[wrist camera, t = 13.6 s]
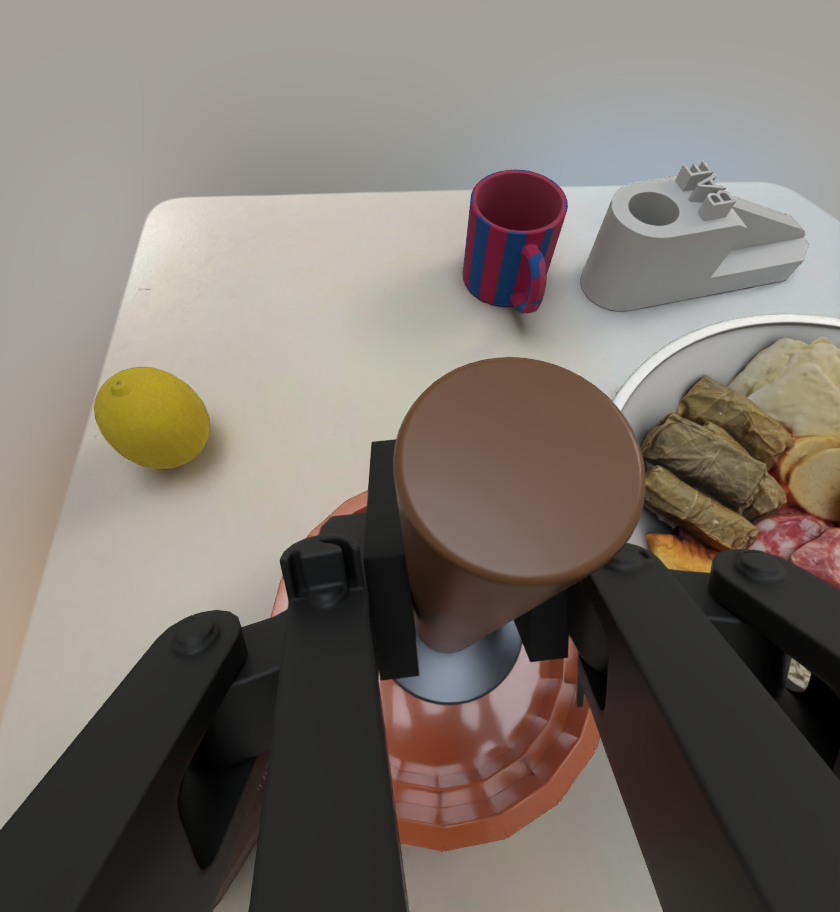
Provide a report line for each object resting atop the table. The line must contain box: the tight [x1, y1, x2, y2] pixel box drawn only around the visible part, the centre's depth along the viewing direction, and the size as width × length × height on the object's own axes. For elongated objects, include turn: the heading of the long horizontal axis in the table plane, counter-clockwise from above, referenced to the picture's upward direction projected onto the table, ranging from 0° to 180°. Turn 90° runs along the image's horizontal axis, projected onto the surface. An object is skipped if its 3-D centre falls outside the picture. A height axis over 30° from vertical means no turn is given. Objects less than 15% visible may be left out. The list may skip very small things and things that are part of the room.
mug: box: [463, 170, 568, 314], centre depth 35 cm, size 7×10×7 cm
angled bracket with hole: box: [581, 161, 810, 311], centre depth 35 cm, size 6×18×8 cm, turn 103°
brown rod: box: [392, 357, 645, 706], centre depth 11 cm, size 5×5×14 cm
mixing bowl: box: [271, 490, 600, 852], centre depth 24 cm, size 16×16×6 cm
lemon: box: [94, 367, 210, 469], centre depth 28 cm, size 6×6×8 cm
